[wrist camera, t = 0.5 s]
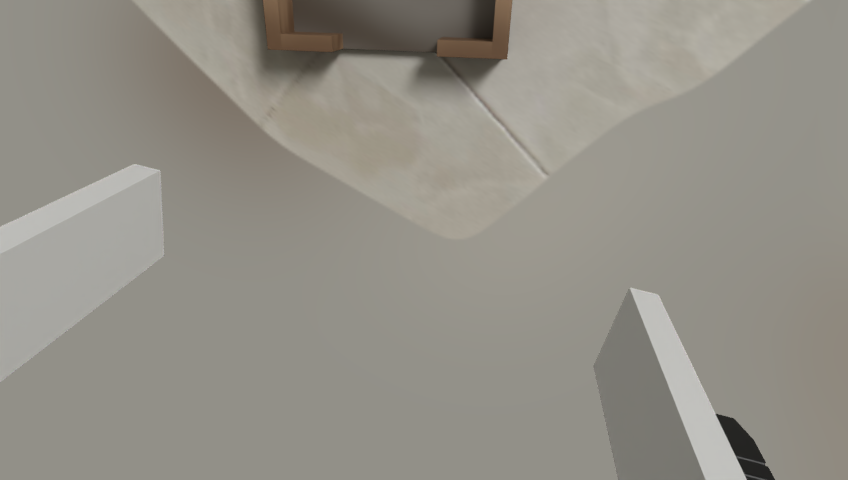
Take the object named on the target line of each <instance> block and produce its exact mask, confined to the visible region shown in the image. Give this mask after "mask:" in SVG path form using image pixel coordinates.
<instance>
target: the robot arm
mask: <svg viewBox="0 0 848 480" xmlns="http://www.w3.org/2000/svg"><path fill="white" fill-rule="evenodd" d="M160 173H161V172H160V170H156V169H153V168H148V167H144V166H141V165H136V164H133V165H131V166H129V167H127V168H125V169H123V170H120V171H118V172H116V173H114V174H112V175H110V176H107V177H105V178H103V179H101V180H99V181H97V182H95V183H93V184H90V185H89V186H86V187H84V188H82V189H80V190H78V191H76V192H73V193H71V194H69V195H67V196H65V197H63V198H61V199H58V200H56V201H54V202H52V203H50V204H48V205H46V206H44V207H41V208H39V209H37V210H35V211H33V212H31V213H29V214H26V215H24V216H22V217H20V218H18V219H16V220H14V221H11V222H9V223H7V224H5V225H3V226H1V227H0V382H1V381H3V380H4V379H5V378H6V377H8V376H9V375H10V374H12V373H13V372H14V371H15V370H17V369H18V368H19V367H21V366H22V365H23V364H25V363H26V362H27V361H28V360H30V359H31V358H32V357H34V356H35V355H36V354H37V353H39V352H40V351H41V350H43V349H44V348H45V347H46V346H48V345H49V344H50V343H52V342H53V341H54V340H55V339H57V338H58V337H59V336H61V335H62V334H63V333H65V332H66V331H67V330H69V329H70V328H71V327H72V326H74V325H75V324H76V323H78V322H79V321H80V320H81V319H83V318H84V317H85V316H87V315H88V314H89V313H90V312H92V311H93V310H94V309H95V308H97V307H98V306H100V305H101V304H102V303H103V302H104V301H106V300H107V299H109V298H110V297H111V296H113V294H115V293H116V292H118V291H119V290H120V289H122V288H123V287H124V286H125V285H127V284H128V283H129V282H130V281H132V280H133V279H134V278H136V277H137V276H138V275H139V274H141V273H142V272H143V271H145V270H146V269H147V268H149V267H150V266H151V265H152V264H154V263H155V262H156V261H158V260H159V259H160V258H162V257H163V256H164V241H163V218H162V194H161V174H160ZM594 371H595V375H596V380H597V384H598V389H599V393H600V398H601V403H602V407H603V412H604V417H605V421H606V426H607V430H608V435H609V440H610V444H611V448H612V453H613V458H614V462H615V467H616V472H617V476H618V480H775V479H774V477H773V475H772V473H771V471H770V469H769V468H768V467H767V466H765V463H766V462H765V460H764V459H763V457H762V455H761V453H760V451H759V449H758V447H757V445H756V444H755V442H754V440H753V439H752V438H751V437H750V436H749V434H748V433H747V432H746V431H745V430H744V429H743V428H742V427H741V426H740V425H739V424H738V422H737V421H736V420H735V419H733V418H730V417H726V416H722V415H718V414H715V412H714V410H713V408H712V406H711V404H710V402H709V400H708V397H707V395H706V393H705V391H704V389H703V387H702V385H701V383H700V381H699V379H698V377H697V375H696V372H695V370H694V368H693V366H692V364H691V362H690V360H689V358H688V356H687V354H686V352H685V349H684V347H683V345H682V343H681V341H680V339H679V337H678V335H677V333H676V331H675V329H674V327H673V324H672V322H671V320H670V318H669V316H668V314H667V312H666V310H665V308H664V306H663V304H662V301H661V300H660V297H659V295H658V294H654V293H650V292H646V291H642V290H638V289H634V288H629V290H628V292H627V294H626V296H625V299H624V301H623V303H622V305H621V307H620V309H619V312H618V314H617V316H616V318H615V320H614V323H613V325H612V327H611V329H610V331H609V333H608V336H607V338H606V340H605V342H604V344H603V346H602V348H601V351H600V353H599V355H598V357H597V359H596V362H595V364H594Z"/></svg>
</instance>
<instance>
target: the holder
mask: <svg viewBox="0 0 848 480" xmlns="http://www.w3.org/2000/svg"><path fill="white" fill-rule="evenodd" d="M263 6H264V16H265V26H266V36H267V46H268V49H270V50H294V51H318V52H334V51H337V50H340V49H365V50H390V51H415V52H437V56H439V57H463V58H487V59H507V54H508V43H509V31H510V20H511V9H512V0H263Z"/></svg>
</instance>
